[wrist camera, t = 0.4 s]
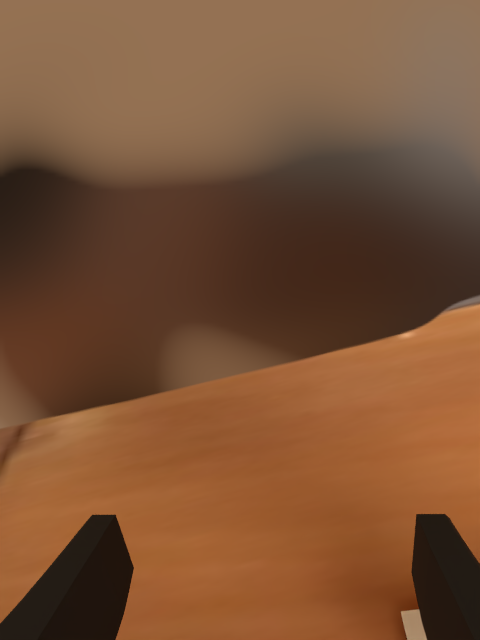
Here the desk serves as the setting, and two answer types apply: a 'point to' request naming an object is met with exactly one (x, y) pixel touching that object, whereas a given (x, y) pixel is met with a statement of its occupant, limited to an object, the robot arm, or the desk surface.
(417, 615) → the base plate
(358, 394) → the desk surface
